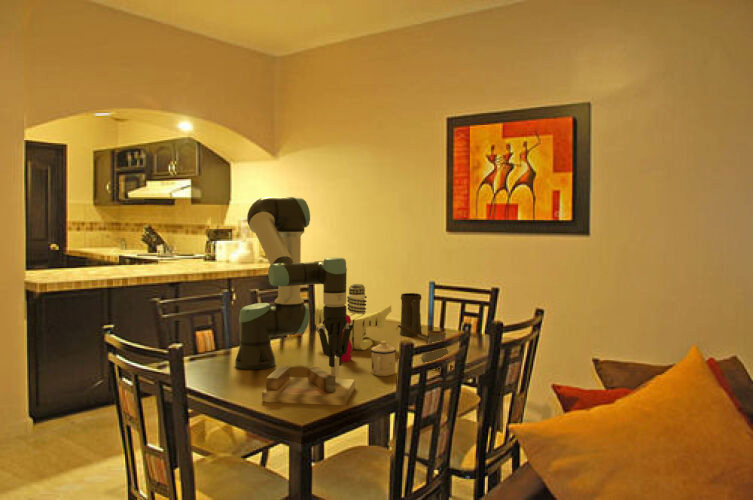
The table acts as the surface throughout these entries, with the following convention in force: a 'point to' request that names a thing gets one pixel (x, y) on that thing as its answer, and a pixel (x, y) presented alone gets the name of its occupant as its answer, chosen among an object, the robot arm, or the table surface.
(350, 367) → the table surface
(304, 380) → the wooden board with block
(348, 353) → the pepper mill
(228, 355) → the table surface
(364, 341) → the slatted curved stool
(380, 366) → the teacup with lid
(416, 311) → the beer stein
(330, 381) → the hinged leg
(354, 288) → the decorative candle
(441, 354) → the coffee pot
